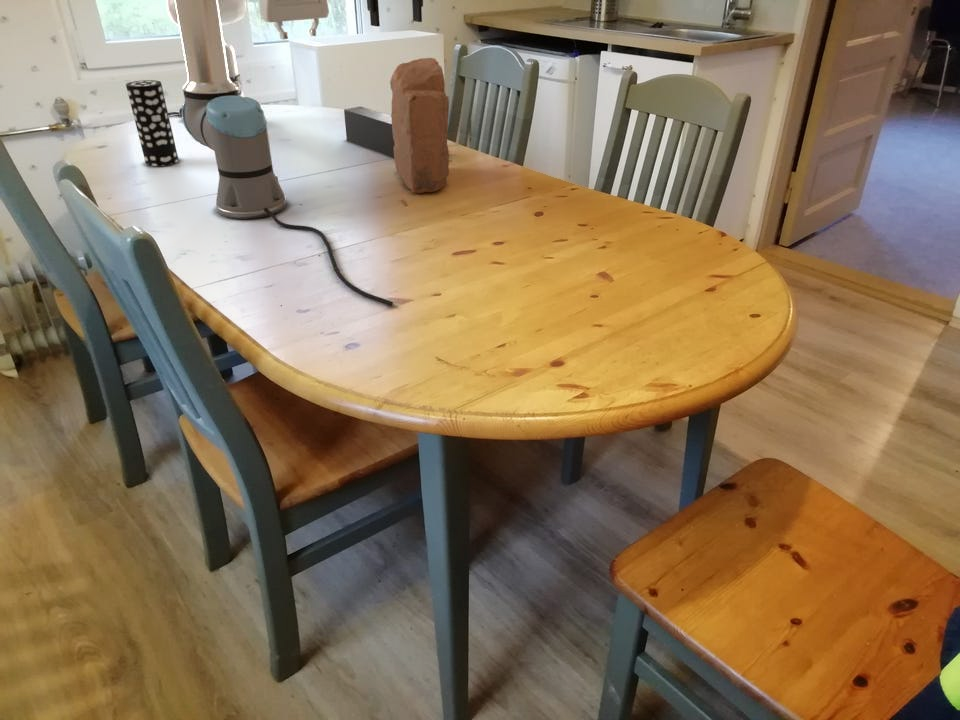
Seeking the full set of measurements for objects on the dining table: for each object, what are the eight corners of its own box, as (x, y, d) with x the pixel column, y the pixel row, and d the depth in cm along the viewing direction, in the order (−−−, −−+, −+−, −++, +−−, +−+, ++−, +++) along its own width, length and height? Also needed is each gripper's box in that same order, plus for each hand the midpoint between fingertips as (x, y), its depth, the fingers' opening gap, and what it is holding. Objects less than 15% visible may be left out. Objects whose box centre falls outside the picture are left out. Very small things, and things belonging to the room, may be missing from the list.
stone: (458, 191, 168) (455, 67, 154) (413, 195, 165) (406, 69, 151) (434, 168, 185) (430, 55, 171) (393, 172, 182) (386, 57, 168)
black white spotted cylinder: (184, 157, 190) (167, 80, 179) (169, 166, 183) (151, 87, 172) (155, 156, 190) (136, 79, 179) (139, 165, 183) (119, 86, 172)
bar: (419, 156, 193) (418, 123, 188) (403, 161, 190) (401, 127, 185) (362, 137, 210) (360, 106, 205) (346, 141, 206) (343, 109, 201)
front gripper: (422, -76, 174) (424, 18, 185) (338, -76, 159) (347, 26, 170) (441, -75, 169) (443, 21, 180) (357, -75, 154) (365, 29, 166)
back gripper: (318, -20, 198) (323, 33, 206) (253, -17, 186) (261, 39, 194) (330, -19, 194) (335, 35, 202) (265, -15, 182) (272, 42, 190)
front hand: (396, 23), depth 175 cm, fingers open, 13 cm apart
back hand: (298, 37), depth 198 cm, fingers open, 8 cm apart
